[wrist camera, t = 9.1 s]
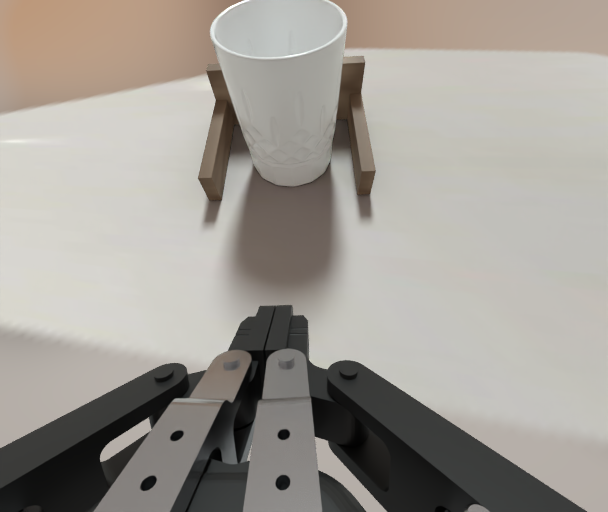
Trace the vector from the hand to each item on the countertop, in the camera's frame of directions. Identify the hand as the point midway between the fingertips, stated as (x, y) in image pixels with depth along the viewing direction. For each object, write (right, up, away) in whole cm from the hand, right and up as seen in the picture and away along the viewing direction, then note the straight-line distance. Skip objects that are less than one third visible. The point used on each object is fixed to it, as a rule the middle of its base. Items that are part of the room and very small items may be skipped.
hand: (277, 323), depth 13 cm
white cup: (0, +12, +12) cm, 17 cm away
